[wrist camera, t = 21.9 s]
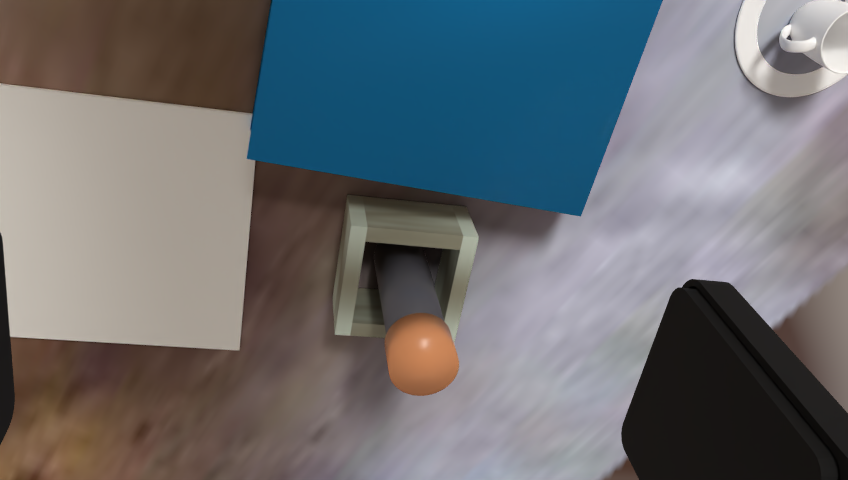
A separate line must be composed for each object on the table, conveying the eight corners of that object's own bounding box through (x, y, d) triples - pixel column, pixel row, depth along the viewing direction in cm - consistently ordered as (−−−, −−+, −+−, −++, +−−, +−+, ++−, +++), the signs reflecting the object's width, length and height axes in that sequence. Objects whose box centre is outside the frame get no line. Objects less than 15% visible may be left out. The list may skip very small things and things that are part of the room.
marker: (375, 227, 42) (394, 336, 34) (431, 232, 43) (465, 341, 34) (367, 277, 44) (383, 393, 35) (422, 281, 44) (451, 397, 36)
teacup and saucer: (921, -43, 40) (982, -28, 36) (849, 107, 43) (898, 134, 40) (769, -80, 38) (817, -68, 34) (707, 80, 41) (745, 106, 38)
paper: (-57, 76, 36) (-59, 77, 36) (259, 114, 39) (259, 115, 38) (-31, 332, 42) (-32, 334, 42) (239, 348, 45) (239, 350, 45)
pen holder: (347, 194, 41) (351, 225, 38) (466, 206, 42) (478, 237, 39) (332, 298, 44) (335, 334, 41) (444, 306, 45) (454, 342, 42)
